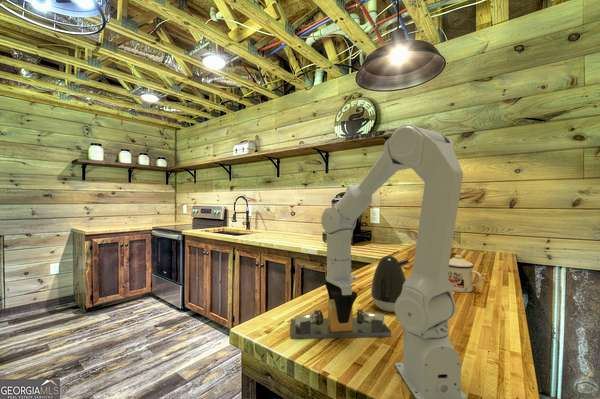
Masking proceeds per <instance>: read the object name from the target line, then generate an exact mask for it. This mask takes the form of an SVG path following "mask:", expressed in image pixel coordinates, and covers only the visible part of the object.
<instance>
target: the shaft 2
mask: <svg viewBox="0 0 600 399" xmlns="http://www.w3.org/2000/svg"><path fill="white" fill-rule="evenodd" d="M356 318H357V324H362V322H363V323H370V324H372V332H376V333H383V325H384V323H385V314H384V313H378V312H370V311H368V312H367V311H363V309H359V308H357V313H356Z"/></svg>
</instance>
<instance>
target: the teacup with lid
mask: <svg viewBox="0 0 600 399" xmlns="http://www.w3.org/2000/svg"><path fill="white" fill-rule="evenodd" d="M474 274H475V275H477V276H478V281H477V282H476V283H474V280H473V279H474V278H473V277H474ZM447 278H448V280H449V281H450V282H451V283H452V284H453V292H458V293H471V292H473V291H474V286H476V287H477V286H479V285H480V284H481V283H482V281H483V276H482V274H481V273H480V272H479V271H477V270H474V264H473V263H472V262H470V261H469V260H466V259H464V258H462V255H460V254H456V255H454V257H452V258H450V261H449V267H448V274H447Z"/></svg>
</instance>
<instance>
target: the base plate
mask: <svg viewBox="0 0 600 399" xmlns="http://www.w3.org/2000/svg"><path fill="white" fill-rule="evenodd" d="M385 337H386V338H387V337H392V331H391V330H390V328H389V327H388V326H387V324H386V323H385V322H384V325H383V333H376V332H372V324H370V323H363V322H362V324H357V317H353V331H336V332H331V330H330V327H329V325H328V317H326V318H324V317H323V324H321V325H316V324H311V325H310V333H309V334H304V335H300V334H299V333H298V331H297V330H296V323H295V318H291V319H290V339H291V340H294V339H295V340H297V339H298V340H299V339H300V340H302V339H345V338H348V339H349V338H385Z"/></svg>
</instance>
